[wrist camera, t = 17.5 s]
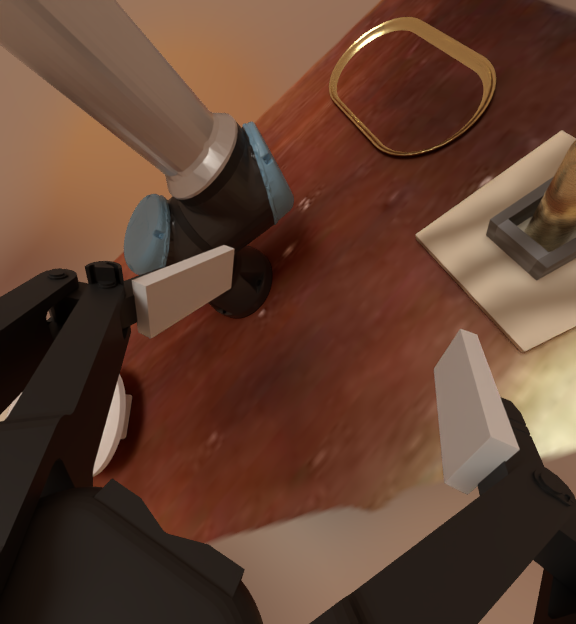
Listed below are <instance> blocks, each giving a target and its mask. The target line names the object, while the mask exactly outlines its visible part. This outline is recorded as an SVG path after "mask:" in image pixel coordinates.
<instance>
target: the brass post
mask: <svg viewBox="0 0 576 624" xmlns="http://www.w3.org/2000/svg"><path fill="white" fill-rule="evenodd" d="M575 230H576V140H575V141H574V142H573V144H572V145H571V146H570V148H569V150H568V152H567V153H566V155H565V157H564V159H563V161H562V163H561V164H560V166H559V168H558V170H557V172H556V174H555V176H554V177H553V179H552V181H551V183H550V185H549V187H548V188H547V190H546V192H545V194H544V196H543V198H542V199H541V201H540V203H539V205H538V207H537V209H536V211H535V212H534V214H533V216H532V218H531V220H530V222H529V223H528V225H527V227H526V229H525V231H524V232H525V233H526V234H527V235H528V236H530V237H531V238H532V239H533V240H534V241H536V242H537V243H538V244H539V245H541V246H542V247H543V248H544V249H546V250H547V251H548V252H549V251H553V250H555V249H557V248H559V247H560V246H562V245H563V244H564V243H565V242H566V241H567V240H568V238H569V237H570V236H571V235H572V234H573V233H574V232H575Z"/></svg>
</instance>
